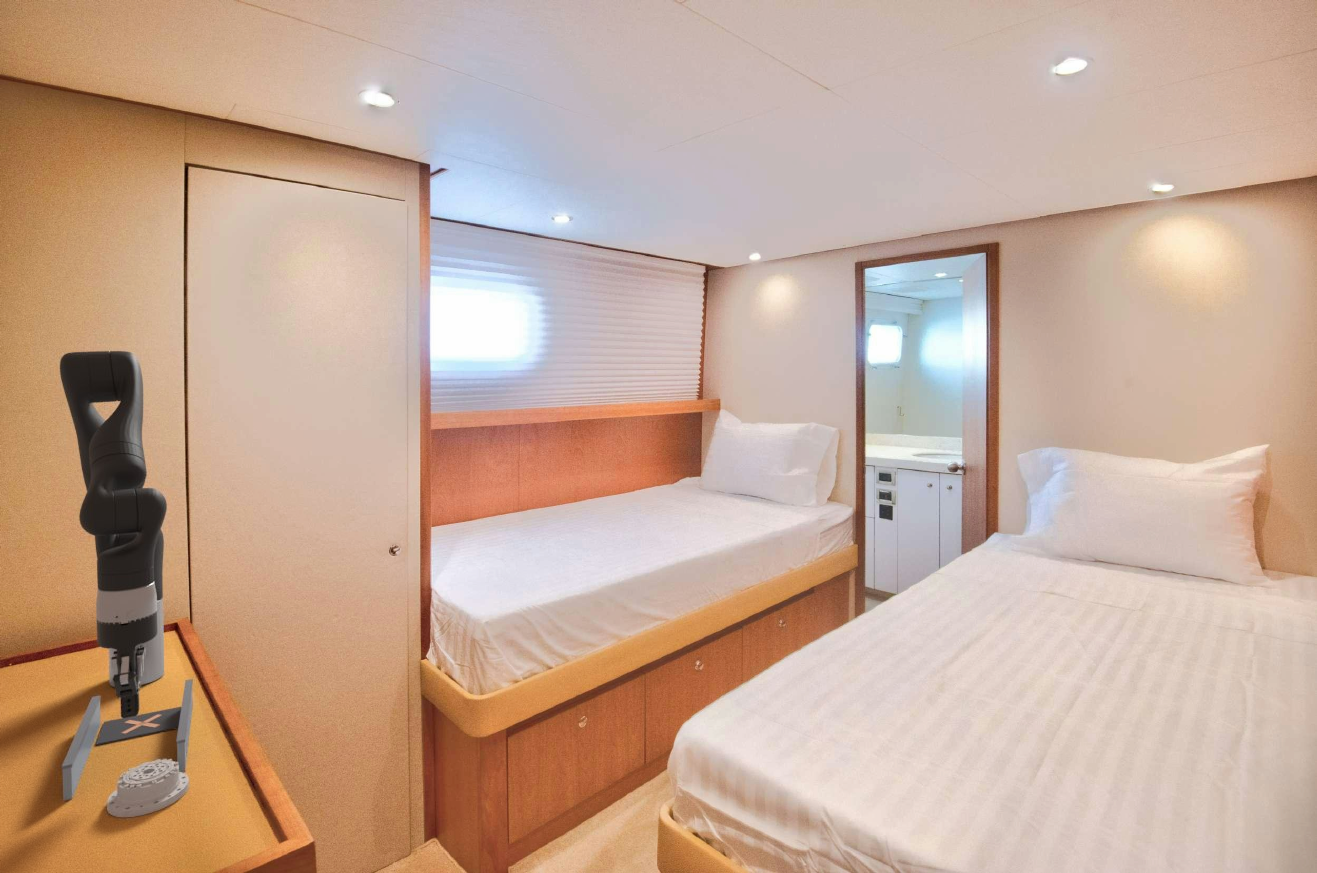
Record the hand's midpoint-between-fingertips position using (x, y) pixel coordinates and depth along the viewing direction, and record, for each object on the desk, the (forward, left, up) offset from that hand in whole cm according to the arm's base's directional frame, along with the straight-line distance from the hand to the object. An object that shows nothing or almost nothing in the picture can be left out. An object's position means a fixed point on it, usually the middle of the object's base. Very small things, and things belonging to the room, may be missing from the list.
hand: (130, 714), depth 104 cm
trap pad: (-18, 0, -10) cm, 21 cm away
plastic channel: (-10, 0, -10) cm, 14 cm away
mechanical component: (+9, +3, -11) cm, 14 cm away
